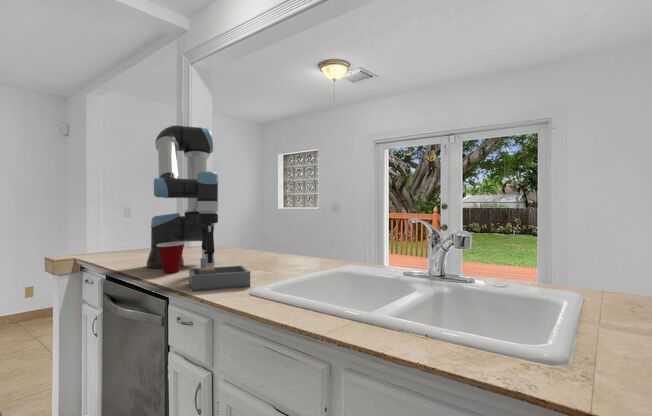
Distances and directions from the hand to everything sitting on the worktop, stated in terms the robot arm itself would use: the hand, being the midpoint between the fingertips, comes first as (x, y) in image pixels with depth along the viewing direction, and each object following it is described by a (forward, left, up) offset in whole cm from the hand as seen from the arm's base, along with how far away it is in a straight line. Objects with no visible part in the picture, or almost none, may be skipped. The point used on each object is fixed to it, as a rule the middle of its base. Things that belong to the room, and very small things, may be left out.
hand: (207, 269), depth 137 cm
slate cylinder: (0, 0, -3) cm, 3 cm away
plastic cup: (-16, -13, -3) cm, 21 cm away
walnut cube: (+17, -2, -2) cm, 17 cm away
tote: (+17, +2, -3) cm, 17 cm away
